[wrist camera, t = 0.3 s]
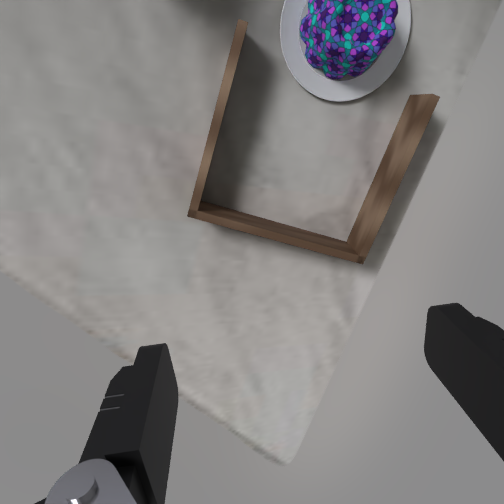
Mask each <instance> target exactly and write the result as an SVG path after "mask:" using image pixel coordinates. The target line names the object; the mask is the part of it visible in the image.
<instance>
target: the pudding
mask: <svg viewBox="0 0 504 504" xmlns="http://www.w3.org/2000/svg"><path fill="white" fill-rule="evenodd" d="M306 2H307V0H285V1H284V5H283V9H282V13H281V21H280V42H281V47H282V52H283V56H284V58H285V61H286V64H287V66H288V68H289V70H290V71H291V73H292V75H293V77H294V78H295V79H296V80H297V81H298V83H299V84H300V85H301V86H302V87H304V88H305V89H306V90H307V91H308V92H310V93H312V94H313V95H315V96H317V97H319V98H322V99H325V100H329V101H338V102H341V101H351V100H354V99H358V98H361V97H363V96H365V95H367V94H369V93H371V92H373V91H374V90H375V89H377V88H378V87H380V86H381V85H382V84H383V83H384V82H385V81H386V80H387V79H388V78H389V77H390V75H391V74H392V73H393V71H394V70H395V69H396V67H397V66H398V64H399V62H400V60H401V58H402V56H403V54H404V51H405V49H406V46H407V43H408V38H409V34H410V26H411V9H410V1H409V0H309V2H308V14H307V15H306V16H305V17H304V18H303V19H302V21H301V26H300V36H301V39H302V40H303V41H304V42H305V44H306V45H307V46H306V52H305V56H306V58H307V61H308V63H309V64H310V65H311V66H312V67H313V68H322V69H323V71H324V74H325V76H326V77H328V78H330V79H332V80H330V79H327V78H325V77H323V76H321V75H319V74H318V73H317V72H315V71H314V70H313V69H312V68H311V66H310V65H309V64H308V63H307V61H306V59H305V57H304V55H303V52H302V50H301V46H300V41H299V23H300V18H301V14H302V10H303V8H304V6H305V4H306ZM381 52H382V53H381ZM380 54H381V55H380ZM379 55H380V56H379ZM378 56H379V58H378V59H377V61H376V62H375V63H374V65H373V66H372V67H371V68H370V69H369V70H367V69H368V68H369V66H370V65H371V64H372V63H373V62H374V60H375V59H376V58H377V57H378ZM366 70H367V71H366ZM364 71H366V72H365V73H363V72H364ZM362 73H363V74H362ZM346 74H348V75H351V76H354V77H355V76H358V75H360V76H358V77H356V78H353V79H350V80H344V81H336V80H333V79H341V78H342V77H343V76H345V75H346ZM361 74H362V75H361Z"/></svg>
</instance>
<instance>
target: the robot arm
mask: <svg viewBox="0 0 504 504" xmlns="http://www.w3.org/2000/svg"><path fill="white" fill-rule="evenodd" d="M424 352H425V357H426V360H427V363H428V365H429V366H430V368H431V369H432V371H433V372H434V373H435V374H436V376H437V377H438V378H439V380H440V381H441V382H442V383H443V385H444V386H445V387H446V388H447V390H448V391H449V392H450V393H451V395H452V396H453V397H454V399H455V400H456V401H457V402H458V404H459V405H460V406H461V407H462V409H463V410H464V411H465V413H466V414H467V415H468V416H469V418H470V419H471V420H472V421H473V423H474V424H475V425H476V427H477V428H478V429H479V430H480V432H481V433H482V434H483V435H484V437H485V438H486V439H487V441H488V442H489V443H490V444H491V446H492V447H493V448H494V449H495V451H496V452H497V453H498V454H499V456H500V457H501V458H502V460H503V461H504V330H503V329H501V328H500V327H499V326H497V325H495V324H493V323H491V322H489V321H487V320H485V319H483V318H480V317H475V316H473V315H472V314H471V313H470V312H469V311H467V310H466V309H465V308H464V307H463V306H462V305H460V304H458V303H451V304H444V305H437V306H431V307H430V308H429V309H428V313H427V323H426V333H425V343H424ZM177 408H178V387H177V381H176V377H175V373H174V369H173V365H172V361H171V357H170V353H169V349H168V346H167V344H166V343H163V344H156V345H149V346H142V347H140V348H139V350H138V353H137V356H136V359H135V362H134V365H132V366H125V367H122V369H121V370H120V371H119V372H118V373H117V374H116V375H115V376H114V378H113V379H112V380H111V381H110V384H109V387H108V389H107V392H106V394H105V399H103V402H102V404H101V407H100V412H98V415H97V417H96V420H95V422H94V425H93V428H92V430H91V433H90V436H89V438H88V441H87V443H86V446H85V448H84V451H83V454H82V456H81V459H80V461H79V463H78V464H77V465H76V466H74V467H72V468H71V469H69V470H68V471H67V472H65V473H64V474H63V475H62V476H61V477H60V478H59V479H58V480H57V481H56V483H55V484H54V486H53V487H52V488H51V490H50V492H49V494H48V496H47V497H46V498H45V499H43V500H41V501H39V502H37V503H35V504H164V503H165V495H166V488H167V480H168V474H169V467H170V466H169V465H170V459H171V451H172V443H173V437H174V430H175V423H176V415H177Z"/></svg>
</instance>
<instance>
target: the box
mask: <svg viewBox="0 0 504 504" xmlns="http://www.w3.org/2000/svg"><path fill="white" fill-rule="evenodd" d="M247 25H248V22H246V21H243V20H240V19H238V23H237V26H236V30H235V34H234V38H233V42H232V46H231V50H230V53H229V57H228V61H227V65H226V69H225V73H224V77H223V80H222V84H221V88H220V92H219V96H218V100H217V104H216V107H215V111H214V115H213V119H212V123H211V127H210V131H209V134H208V138H207V142H206V146H205V150H204V154H203V157H202V161H201V165H200V169H199V173H198V177H197V181H196V184H195V188H194V192H193V196H192V200H191V204H190V208H189V211H188V215H187V216H188V217H191V218H195V219H199V220H202V221H206V222H210V223H213V224H217V225H221V226H224V227H228V228H232V229H235V230H239V231H243V232H246V233H250V234H254V235H257V236H261V237H265V238H268V239H272V240H276V241H279V242H283V243H287V244H290V245H294V246H298V247H301V248H305V249H309V250H312V251H316V252H320V253H323V254H327V255H331V256H334V257H338V258H342V259H345V260H349V261H353V262H356V263H360V264H363V263H364V261H365V259H366V257H367V254H368V252H369V250H370V248H371V246H372V244H373V241H374V239H375V237H376V235H377V233H378V231H379V228H380V226H381V224H382V222H383V220H384V218H385V215H386V213H387V211H388V209H389V207H390V205H391V202H392V200H393V198H394V196H395V194H396V191H397V189H398V187H399V185H400V183H401V181H402V178H403V176H404V174H405V172H406V170H407V168H408V165H409V163H410V161H411V159H412V157H413V155H414V152H415V150H416V148H417V146H418V144H419V142H420V139H421V137H422V135H423V133H424V131H425V129H426V126H427V124H428V122H429V120H430V118H431V115H432V113H433V111H434V109H435V107H436V105H437V102H438V100H439V98H440V97H439V96H436V95H434V94H421V95H410V96H409V99H408V101H407V103H406V106H405V108H404V110H403V113H402V115H401V117H400V120H399V122H398V124H397V126H396V129H395V131H394V133H393V136H392V138H391V140H390V143H389V145H388V147H387V150H386V152H385V154H384V157H383V159H382V161H381V163H380V166H379V168H378V170H377V173H376V175H375V177H374V180H373V182H372V184H371V187H370V189H369V191H368V194H367V196H366V198H365V200H364V203H363V205H362V207H361V210H360V212H359V214H358V217H357V219H356V221H355V224H354V226H353V228H352V231H351V233H350V235H349V237H348V240H347V242H345V241H341V240H338V239H334V238H331V237H327V236H324V235H320V234H317V233H313V232H310V231H306V230H303V229H299V228H295V227H292V226H288V225H285V224H281V223H278V222H274V221H271V220H267V219H264V218H260V217H257V216H253V215H250V214H246V213H243V212H239V211H235V210H232V209H228V208H225V207H221V206H218V205H214V204H211V203H207V202H204V201H200V200H201V196H202V193H203V189H204V185H205V181H206V178H207V174H208V170H209V167H210V163H211V159H212V155H213V152H214V148H215V144H216V140H217V137H218V133H219V129H220V126H221V122H222V118H223V114H224V111H225V107H226V103H227V100H228V96H229V92H230V88H231V85H232V81H233V77H234V73H235V70H236V66H237V62H238V59H239V55H240V51H241V47H242V44H243V40H244V36H245V32H246V29H247Z"/></svg>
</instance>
